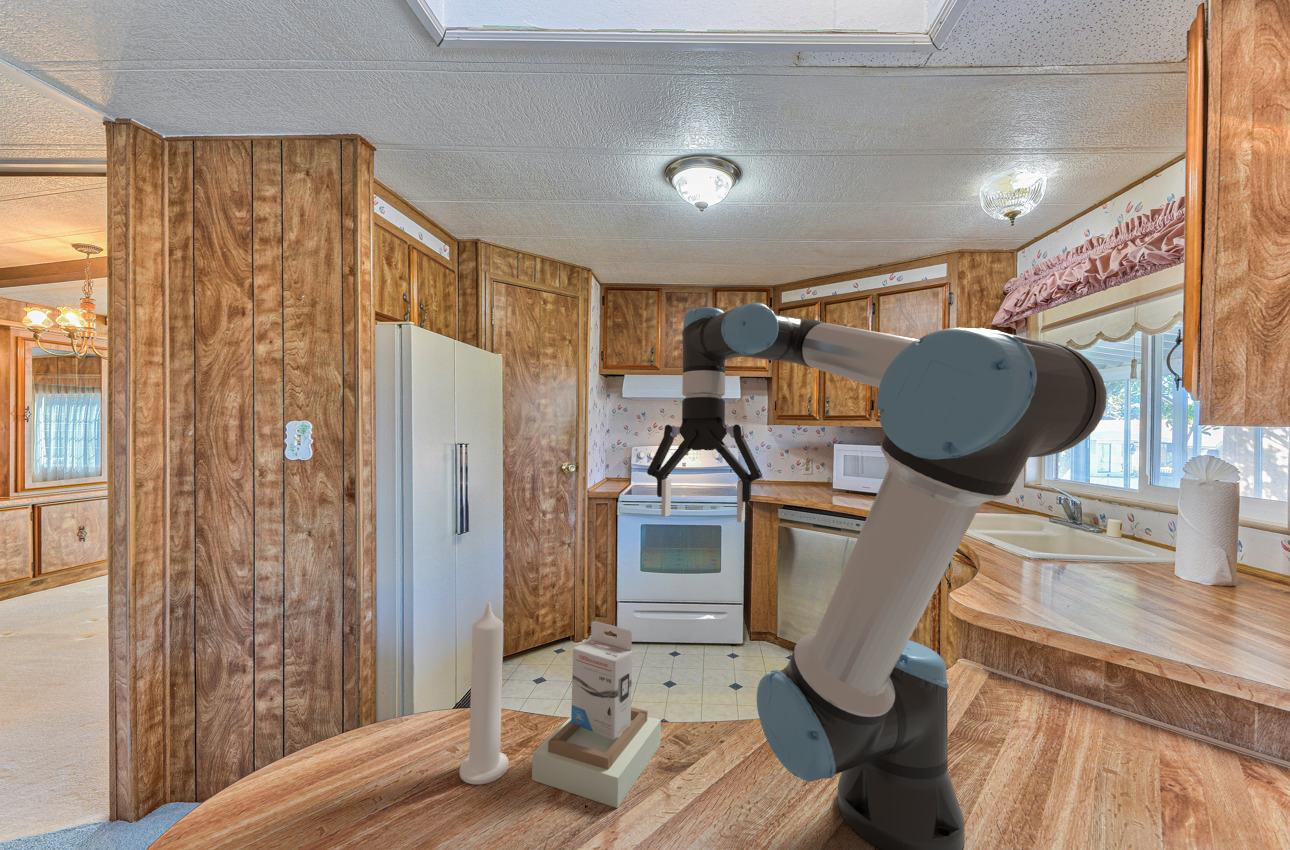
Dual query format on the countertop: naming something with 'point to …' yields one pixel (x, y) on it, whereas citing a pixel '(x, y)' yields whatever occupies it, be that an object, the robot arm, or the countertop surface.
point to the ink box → (603, 681)
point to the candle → (485, 703)
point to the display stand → (597, 759)
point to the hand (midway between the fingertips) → (702, 518)
